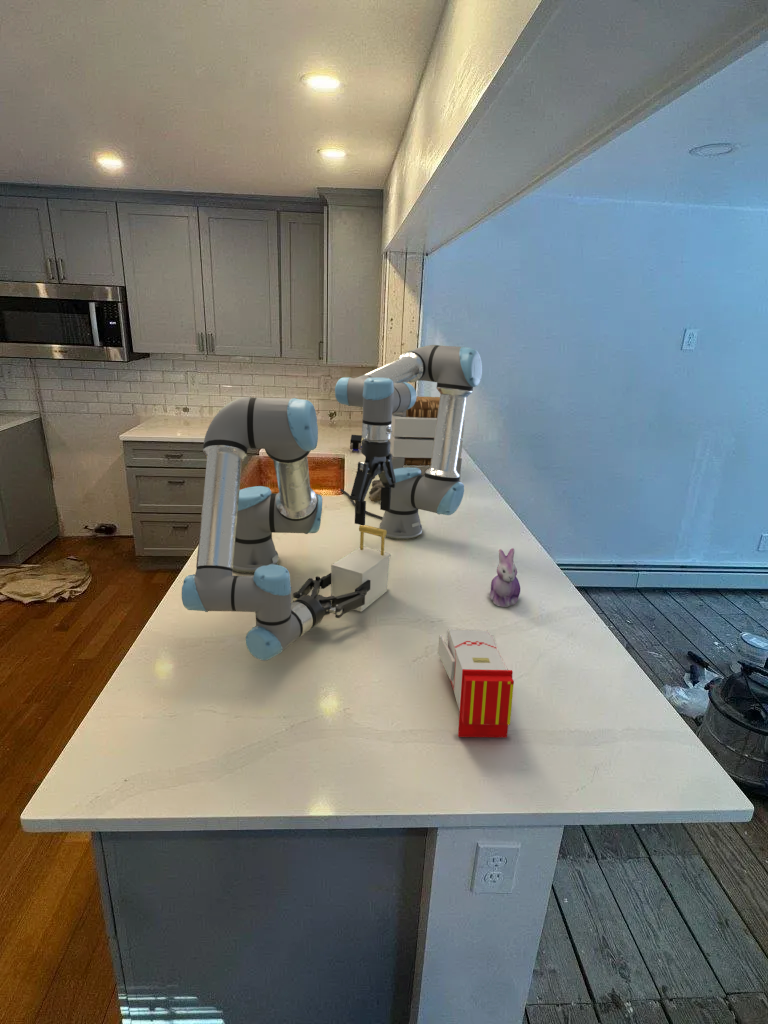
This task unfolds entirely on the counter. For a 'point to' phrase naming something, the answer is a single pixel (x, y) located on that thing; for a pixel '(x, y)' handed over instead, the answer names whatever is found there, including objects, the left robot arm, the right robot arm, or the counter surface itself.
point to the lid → (363, 554)
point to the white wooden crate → (416, 434)
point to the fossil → (376, 491)
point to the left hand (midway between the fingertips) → (352, 579)
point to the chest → (349, 582)
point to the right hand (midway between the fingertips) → (372, 517)
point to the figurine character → (355, 442)
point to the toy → (478, 682)
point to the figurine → (505, 581)
